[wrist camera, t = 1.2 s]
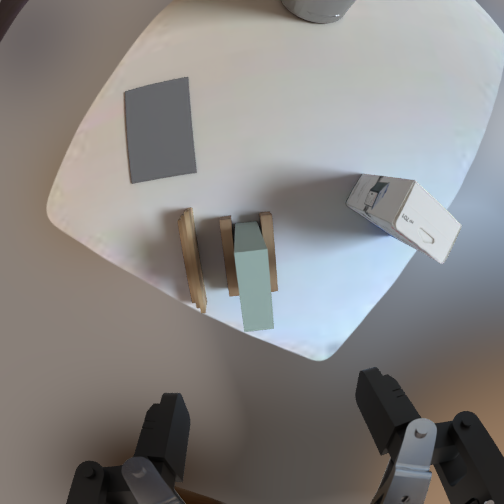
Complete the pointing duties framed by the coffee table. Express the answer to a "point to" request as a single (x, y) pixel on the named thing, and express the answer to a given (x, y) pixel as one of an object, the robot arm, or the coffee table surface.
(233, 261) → the walnut slot block
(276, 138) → the coffee table surface
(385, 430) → the robot arm
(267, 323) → the grey-green rectangular block
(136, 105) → the rubber mat
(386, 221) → the ink box
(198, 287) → the wooden bar
